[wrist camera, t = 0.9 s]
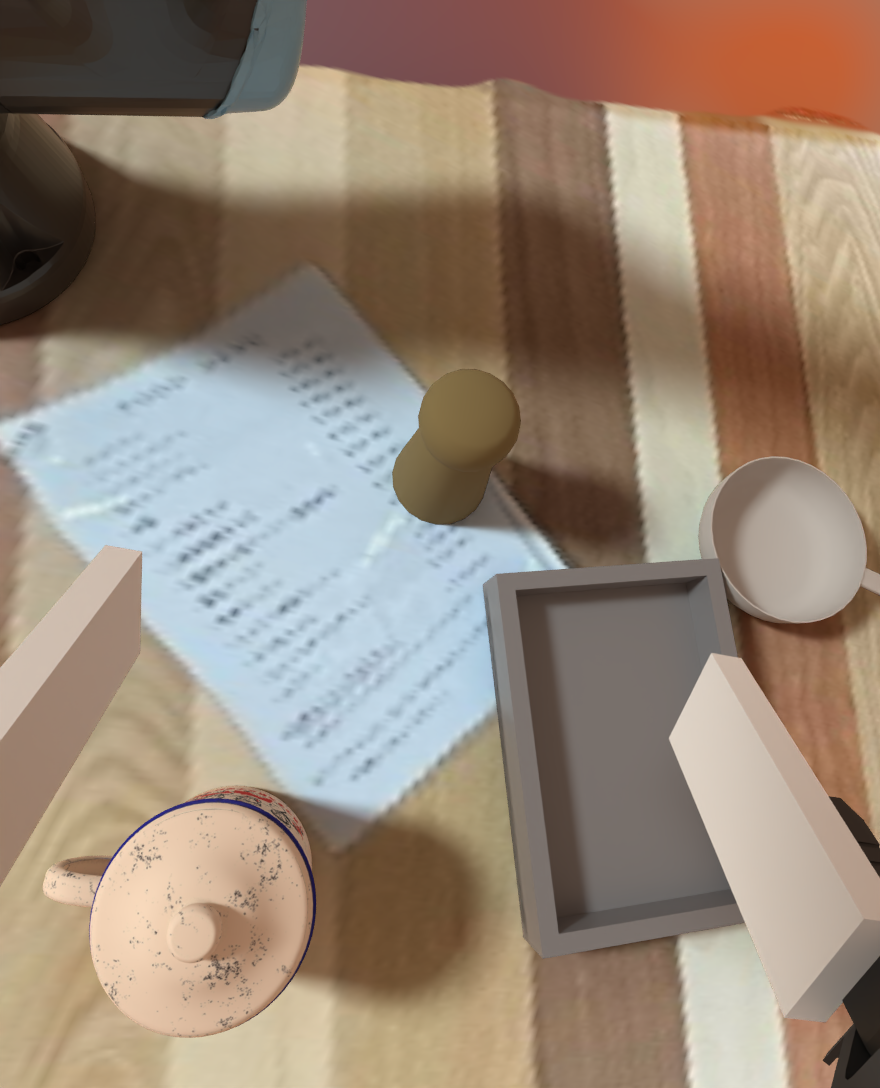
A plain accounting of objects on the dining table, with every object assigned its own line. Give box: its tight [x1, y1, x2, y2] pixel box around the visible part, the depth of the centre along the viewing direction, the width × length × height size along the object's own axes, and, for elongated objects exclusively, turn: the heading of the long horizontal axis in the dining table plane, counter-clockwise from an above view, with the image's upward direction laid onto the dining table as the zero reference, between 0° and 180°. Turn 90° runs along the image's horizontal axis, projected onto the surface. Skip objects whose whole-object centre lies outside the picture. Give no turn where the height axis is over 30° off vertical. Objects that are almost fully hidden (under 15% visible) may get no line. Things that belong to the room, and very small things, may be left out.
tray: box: [483, 558, 745, 959], centre depth 41 cm, size 20×14×4 cm
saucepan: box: [698, 457, 880, 624], centre depth 46 cm, size 11×18×4 cm, turn 65°
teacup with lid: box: [43, 786, 316, 1038], centre depth 32 cm, size 12×9×12 cm
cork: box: [392, 369, 521, 524], centre depth 39 cm, size 6×6×11 cm
